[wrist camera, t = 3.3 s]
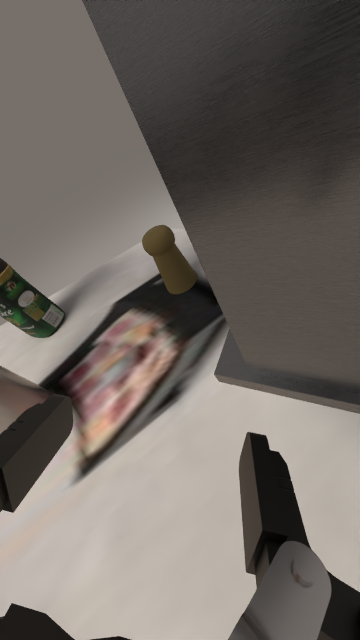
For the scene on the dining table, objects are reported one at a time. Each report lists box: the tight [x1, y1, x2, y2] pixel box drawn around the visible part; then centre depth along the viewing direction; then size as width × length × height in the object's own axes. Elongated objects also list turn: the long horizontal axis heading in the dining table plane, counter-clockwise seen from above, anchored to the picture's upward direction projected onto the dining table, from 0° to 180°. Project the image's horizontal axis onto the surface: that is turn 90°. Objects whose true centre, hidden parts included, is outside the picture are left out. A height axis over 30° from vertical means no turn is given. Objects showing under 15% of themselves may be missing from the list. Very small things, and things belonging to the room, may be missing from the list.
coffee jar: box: [0, 258, 65, 338], centre depth 49 cm, size 10×8×19 cm
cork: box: [142, 225, 197, 294], centre depth 41 cm, size 6×6×11 cm
